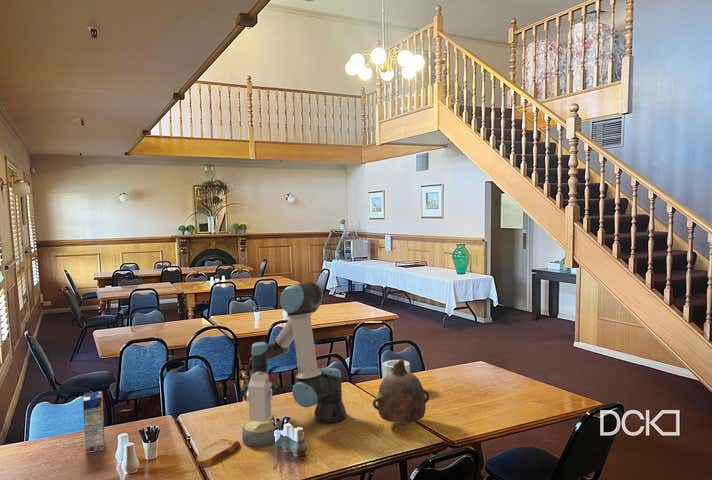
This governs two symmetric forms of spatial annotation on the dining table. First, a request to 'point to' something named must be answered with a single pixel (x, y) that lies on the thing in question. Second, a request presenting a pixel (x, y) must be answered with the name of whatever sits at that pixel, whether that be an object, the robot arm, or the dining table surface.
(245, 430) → the podium
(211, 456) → the slice of bread
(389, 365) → the container
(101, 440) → the beverage box
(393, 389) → the jug
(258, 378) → the milk carton
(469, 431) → the dining table surface
